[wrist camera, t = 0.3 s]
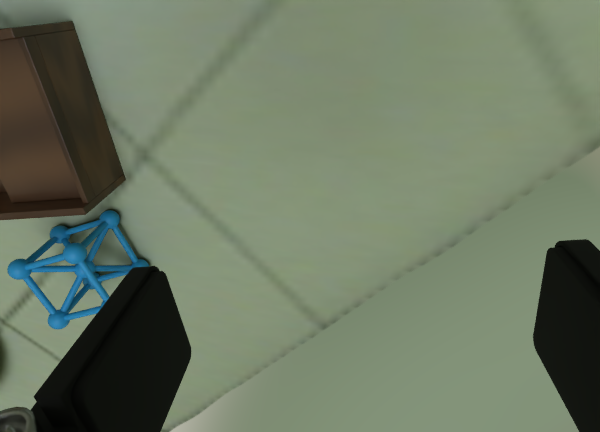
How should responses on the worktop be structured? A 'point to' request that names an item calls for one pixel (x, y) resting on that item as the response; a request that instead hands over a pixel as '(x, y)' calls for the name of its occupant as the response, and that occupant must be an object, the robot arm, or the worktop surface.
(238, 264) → the worktop surface
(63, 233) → the molecular structure
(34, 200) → the spice rack
